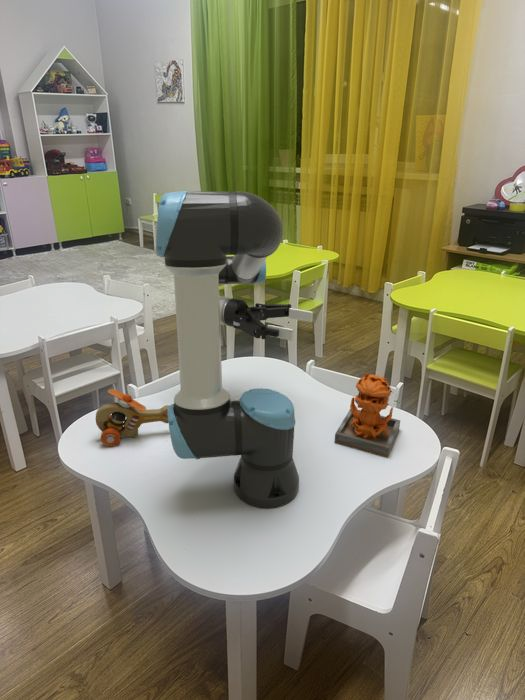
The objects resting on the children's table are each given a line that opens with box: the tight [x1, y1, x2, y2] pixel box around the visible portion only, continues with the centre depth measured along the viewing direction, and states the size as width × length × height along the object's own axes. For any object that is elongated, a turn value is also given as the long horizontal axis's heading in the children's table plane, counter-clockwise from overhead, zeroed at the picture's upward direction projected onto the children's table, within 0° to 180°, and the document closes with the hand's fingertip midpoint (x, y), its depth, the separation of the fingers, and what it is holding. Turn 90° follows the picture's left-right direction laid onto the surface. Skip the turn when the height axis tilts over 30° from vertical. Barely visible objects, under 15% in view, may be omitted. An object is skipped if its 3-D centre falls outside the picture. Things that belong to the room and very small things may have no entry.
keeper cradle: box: [334, 409, 401, 459], centre depth 128 cm, size 14×14×3 cm
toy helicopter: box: [95, 388, 169, 448], centre depth 125 cm, size 8×21×14 cm, turn 101°
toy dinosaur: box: [349, 372, 394, 439], centre depth 125 cm, size 11×11×18 cm
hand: (302, 325), depth 120 cm, fingers open, 13 cm apart
